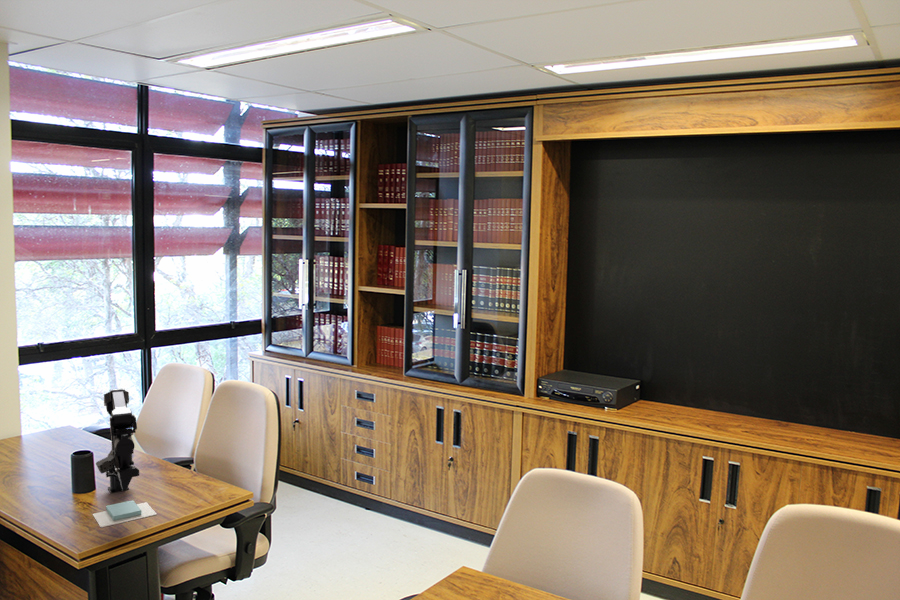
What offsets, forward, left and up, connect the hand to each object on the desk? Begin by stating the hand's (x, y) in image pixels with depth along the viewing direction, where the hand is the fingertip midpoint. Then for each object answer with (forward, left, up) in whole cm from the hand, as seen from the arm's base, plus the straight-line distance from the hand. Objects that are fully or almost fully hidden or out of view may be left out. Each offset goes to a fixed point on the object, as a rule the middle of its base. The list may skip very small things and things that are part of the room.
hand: (124, 490), depth 235 cm
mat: (-1, 0, -9) cm, 9 cm away
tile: (-8, 0, -8) cm, 11 cm away
